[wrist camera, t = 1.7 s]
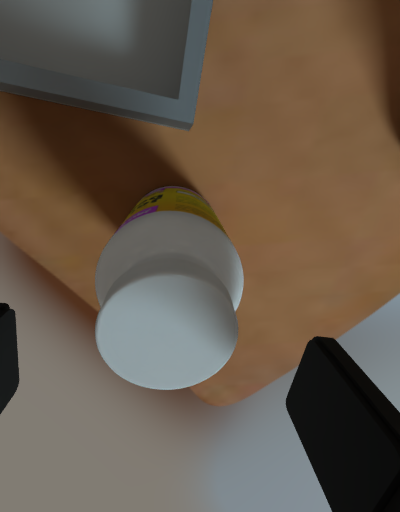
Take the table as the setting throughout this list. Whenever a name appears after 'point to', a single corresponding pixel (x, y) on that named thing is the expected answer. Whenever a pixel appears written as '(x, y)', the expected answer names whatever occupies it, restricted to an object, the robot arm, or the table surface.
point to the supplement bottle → (168, 292)
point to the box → (107, 55)
